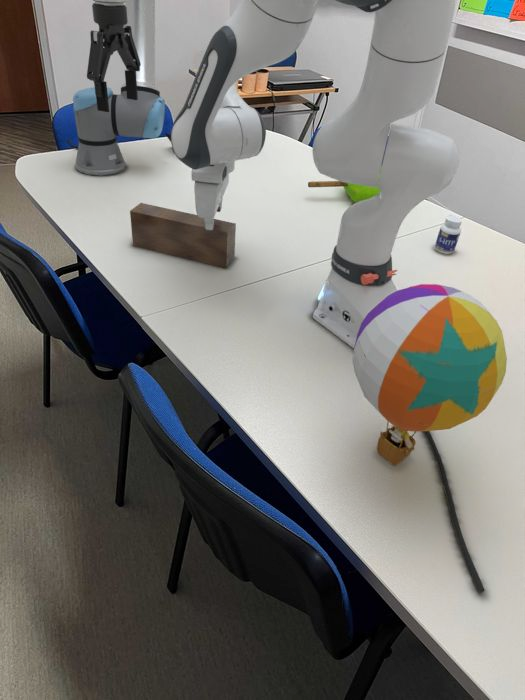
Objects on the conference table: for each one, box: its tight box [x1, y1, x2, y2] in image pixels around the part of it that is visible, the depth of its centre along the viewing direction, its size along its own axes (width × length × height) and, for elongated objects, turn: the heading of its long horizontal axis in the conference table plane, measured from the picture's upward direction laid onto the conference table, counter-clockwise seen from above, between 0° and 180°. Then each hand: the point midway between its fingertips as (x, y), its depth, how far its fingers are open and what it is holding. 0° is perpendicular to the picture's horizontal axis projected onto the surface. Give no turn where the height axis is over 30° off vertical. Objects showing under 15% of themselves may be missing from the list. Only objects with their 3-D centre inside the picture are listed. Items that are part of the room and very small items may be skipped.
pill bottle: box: [434, 215, 463, 255], centre depth 137 cm, size 5×5×9 cm
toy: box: [352, 283, 508, 467], centre depth 73 cm, size 20×20×30 cm
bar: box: [129, 202, 237, 269], centre depth 126 cm, size 25×5×9 cm, turn 72°
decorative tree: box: [307, 166, 382, 203], centre depth 160 cm, size 18×10×30 cm
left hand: (118, 105), depth 129 cm, fingers open, 13 cm apart
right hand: (213, 219), depth 120 cm, fingers open, 8 cm apart
